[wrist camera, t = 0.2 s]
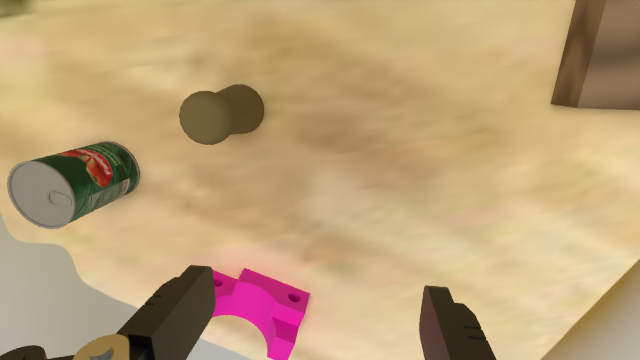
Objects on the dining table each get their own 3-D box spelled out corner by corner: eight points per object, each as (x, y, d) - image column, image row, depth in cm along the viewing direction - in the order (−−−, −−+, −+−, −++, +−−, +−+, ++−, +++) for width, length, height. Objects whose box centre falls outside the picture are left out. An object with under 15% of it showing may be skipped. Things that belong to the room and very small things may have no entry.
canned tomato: (89, 188, 47) (11, 221, 36) (85, 136, 44) (1, 154, 34) (140, 200, 46) (76, 236, 36) (140, 147, 44) (71, 169, 33)
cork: (253, 141, 41) (217, 163, 31) (211, 119, 41) (160, 134, 31) (271, 98, 39) (239, 106, 29) (227, 75, 39) (179, 75, 29)
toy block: (309, 292, 48) (300, 330, 41) (296, 323, 50) (285, 364, 43) (216, 255, 48) (191, 286, 41) (206, 287, 50) (181, 323, 43)
